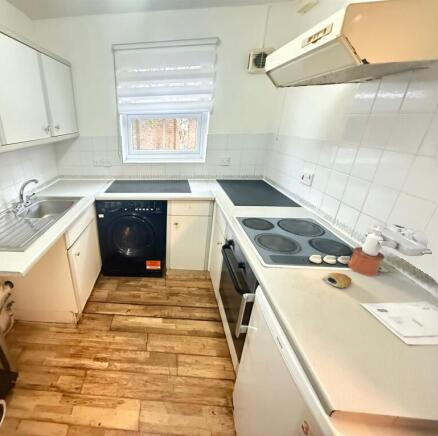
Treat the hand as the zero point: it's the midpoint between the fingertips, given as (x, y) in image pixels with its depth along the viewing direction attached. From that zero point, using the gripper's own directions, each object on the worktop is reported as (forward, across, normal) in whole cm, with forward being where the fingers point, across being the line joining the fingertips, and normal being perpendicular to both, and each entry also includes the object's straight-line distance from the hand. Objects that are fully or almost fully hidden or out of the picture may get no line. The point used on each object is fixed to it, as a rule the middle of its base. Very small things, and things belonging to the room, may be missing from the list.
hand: (372, 238), depth 96 cm
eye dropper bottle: (-1, 0, -7) cm, 7 cm away
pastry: (+16, -11, -15) cm, 24 cm away
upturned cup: (-1, 0, -15) cm, 15 cm away
